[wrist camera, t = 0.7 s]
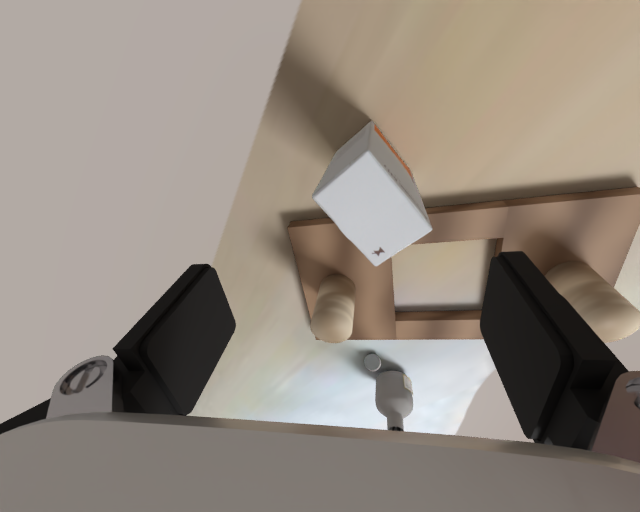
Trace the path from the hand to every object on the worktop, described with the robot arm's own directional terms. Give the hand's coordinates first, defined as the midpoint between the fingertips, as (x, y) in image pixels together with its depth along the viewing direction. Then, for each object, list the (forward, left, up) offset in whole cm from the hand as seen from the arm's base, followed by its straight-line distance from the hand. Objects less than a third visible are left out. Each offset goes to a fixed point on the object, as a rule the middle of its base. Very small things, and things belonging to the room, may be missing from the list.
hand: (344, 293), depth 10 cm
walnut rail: (-7, +13, -19) cm, 24 cm away
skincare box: (-1, 0, -20) cm, 20 cm away
